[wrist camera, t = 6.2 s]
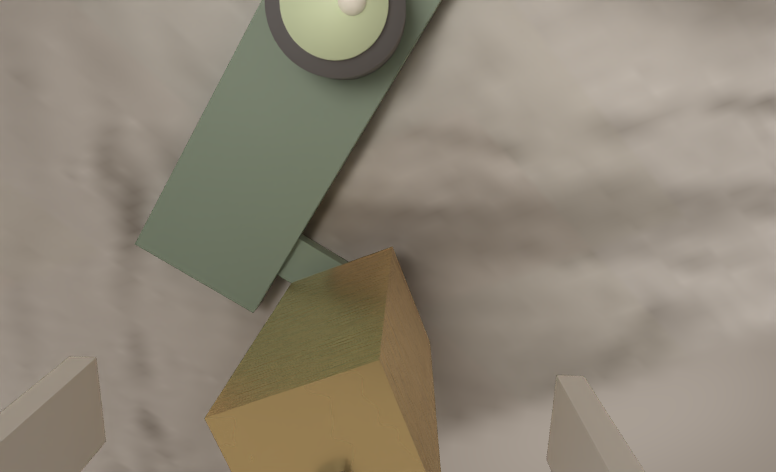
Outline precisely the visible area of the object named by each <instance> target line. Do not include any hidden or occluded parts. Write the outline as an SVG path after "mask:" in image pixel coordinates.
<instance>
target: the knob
mask: <svg viewBox="0 0 776 472" xmlns="http://www.w3.org/2000/svg"><path fill="white" fill-rule="evenodd" d="M205 420H206V422H207V424H208V426H209V428H210V430H211V432H212V434H213V436H214V438H215V440H216V442H217V444H218V446H219V448H220V450H221V452H222V454H223V456H224V458H225V460H226V462H227V464H228V466H229V468H230V470H231V472H441V468H440V456H439V444H438V432H437V420H436V408H435V397H434V385H433V373H432V361H431V349H430V341H429V339H428V336H427V334H426V331H425V328H424V326H423V323H422V321H421V318H420V316H419V313H418V311H417V308H416V305H415V303H414V300H413V298H412V295H411V293H410V290H409V288H408V285H407V282H406V280H405V277H404V275H403V272H402V270H401V267H400V265H399V262H398V259H397V257H396V254H395V252H394V249H393V247H390V248H387V249H384V250H381V251H379V252H376V253H373V254H370V255H368V256H365V257H362V258H359V259H356V260H354V261H351V262H348V263H345V264H342V265H340V266H337V267H334V268H331V269H329V270H326V271H323V272H320V273H317V274H315V275H312V276H309V277H306V278H303V279H301V280H298V281H295V282H292V283H291V285H290V286H289V288H288V289H287V291H286V293H285V294H284V296H283V297H282V299H281V300H280V302H279V303H278V305H277V307H276V308H275V310H274V311H273V313H272V314H271V316H270V317H269V319H268V320H267V322H266V324H265V325H264V327H263V328H262V330H261V331H260V333H259V334H258V336H257V338H256V339H255V341H254V342H253V344H252V345H251V347H250V348H249V350H248V352H247V353H246V355H245V356H244V358H243V359H242V361H241V362H240V364H239V366H238V367H237V369H236V370H235V372H234V373H233V375H232V376H231V378H230V380H229V381H228V383H227V384H226V386H225V387H224V389H223V390H222V392H221V394H220V395H219V397H218V398H217V400H216V401H215V403H214V404H213V406H212V407H211V409H210V411H209V412H208V414H207V415H206V417H205Z"/></svg>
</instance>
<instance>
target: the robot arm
mask: <svg viewBox="0 0 776 472" xmlns="http://www.w3.org/2000/svg"><path fill="white" fill-rule="evenodd" d="M105 442H106V438H105V430H104V421H103V412H102V403H101V395H100V386H99V377H98V368H97V360H96V357H71V356H70V357H68V358H67V359H66V360H65V361H63V362H62V363H61V364H60V365H59V366H57V367H56V368H55V369H54V370H52V371H51V372H50V373H49V374H47V375H46V376H45V377H44V378H42V379H41V380H40V381H39V382H38V383H36V384H35V385H34V386H33V387H31V388H30V389H29V390H28V391H26V392H25V393H24V394H23V395H21V396H20V397H19V398H18V399H17V400H15V401H14V402H13V403H12V404H10V405H9V406H8V407H7V408H5V409H4V410H3V411H2V412H0V472H81V471H82V469H83V468H84V467H85V466H86V465H87V463H88V462H89V461H90V460H91V459H92V457H93V456H94V455H95V454H96V453H97V451H98V450H99V449H100V448H101V447H102V445H103V444H104V443H105ZM547 462H548V464H549V467H550V469H551V472H645V471H644V470H643V468H642V467H641V465H640V463H639V462H638V460H637V459H636V457H635V455H634V454H633V453H632V451H631V449H630V448H629V446H628V445H627V443H626V441H625V440H624V438H623V437H622V435H621V434H620V432H619V430H618V429H617V427H616V426H615V424H614V423H613V421H612V420H611V418H610V416H609V415H608V413H607V412H606V410H605V409H604V407H603V405H602V404H601V402H600V401H599V399H598V398H597V396H596V394H595V393H594V391H593V390H592V388H591V387H590V385H589V383H588V382H587V380H586V379H585V377H584V376H566V375H557V377H556V385H555V393H554V401H553V410H552V418H551V426H550V435H549V443H548V451H547Z"/></svg>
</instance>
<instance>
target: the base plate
mask: <svg viewBox="0 0 776 472" xmlns="http://www.w3.org/2000/svg"><path fill="white" fill-rule="evenodd" d="M441 1H442V0H262V1H261V3H260V5H259V7H258V9H257V11H256V13H255V14H254V16H253V18H252V20H251V22H250V24H249V26H248V28H247V30H246V32H245V34H244V36H243V37H242V39H241V41H240V43H239V45H238V47H237V49H236V51H235V53H234V55H233V57H232V59H231V61H230V62H229V64H228V66H227V68H226V70H225V72H224V74H223V76H222V78H221V80H220V82H219V84H218V86H217V87H216V89H215V91H214V93H213V95H212V97H211V99H210V101H209V103H208V105H207V107H206V109H205V111H204V112H203V114H202V116H201V118H200V120H199V122H198V124H197V126H196V128H195V130H194V132H193V134H192V135H191V137H190V139H189V141H188V143H187V145H186V147H185V149H184V151H183V153H182V155H181V157H180V159H179V160H178V162H177V164H176V166H175V168H174V170H173V172H172V174H171V176H170V178H169V180H168V182H167V184H166V185H165V187H164V189H163V191H162V193H161V195H160V197H159V199H158V201H157V203H156V205H155V207H154V209H153V210H152V212H151V214H150V216H149V218H148V220H147V222H146V224H145V226H144V228H143V230H142V232H141V233H140V235H139V237H138V239H137V241H136V243H135V245H137V246H139V247H141V248H142V249H144V250H146V251H147V252H149V253H151V254H153V255H154V256H156V257H158V258H160V259H161V260H163V261H165V262H166V263H168V264H170V265H172V266H173V267H175V268H177V269H178V270H180V271H182V272H184V273H185V274H187V275H189V276H191V277H192V278H194V279H196V280H197V281H199V282H201V283H203V284H204V285H206V286H208V287H209V288H211V289H213V290H215V291H216V292H218V293H220V294H222V295H223V296H225V297H227V298H228V299H230V300H232V301H234V302H235V303H237V304H239V305H240V306H242V307H244V308H246V309H247V310H249V311H251V312H253V313H254V311H255V310H256V309H257V307H258V306H259V305H260V303H261V302H262V300H263V298H264V297H265V295H266V293H267V292H268V290H269V288H270V287H271V285H272V283H273V282H274V280H275V278H276V277H277V275H278V276H280V277H282V278H283V279H285V280H287V281H288V282H290V283H292V282H295V281H298V280H301V279H303V278H306V277H309V276H312V275H315V274H317V273H320V272H323V271H326V270H329V269H331V268H334V267H337V266H340V265H342V264H345V263H348V261H346V260H344V259H343V258H341V257H339V256H338V255H336V254H334V253H333V252H331V251H329V250H328V249H326V248H324V247H323V246H321V245H319V244H318V243H316V242H314V241H313V240H311V239H309V238H308V237H306V236H304V235H303V234H302V233H303V231H304V230H305V228H306V226H307V225H308V223H309V221H310V220H311V218H312V216H313V215H314V213H315V211H316V210H317V208H318V206H319V205H320V203H321V201H322V200H323V198H324V196H325V195H326V193H327V191H328V190H329V188H330V186H331V185H332V183H333V181H334V180H335V178H336V176H337V175H338V173H339V171H340V170H341V168H342V166H343V165H344V163H345V161H346V160H347V158H348V156H349V155H350V153H351V151H352V150H353V148H354V146H355V145H356V143H357V141H358V140H359V138H360V136H361V135H362V133H363V131H364V130H365V128H366V126H367V125H368V123H369V121H370V120H371V118H372V116H373V115H374V113H375V111H376V110H377V108H378V106H379V105H380V103H381V101H382V100H383V98H384V96H385V95H386V93H387V91H388V90H389V88H390V86H391V85H392V83H393V81H394V80H395V78H396V76H397V75H398V73H399V71H400V70H401V68H402V66H403V65H404V63H405V61H406V60H407V58H408V56H409V55H410V53H411V51H412V50H413V48H414V46H415V45H416V43H417V41H418V40H419V38H420V36H421V35H422V33H423V31H424V30H425V28H426V26H427V25H428V23H429V21H430V20H431V18H432V16H433V15H434V13H435V11H436V10H437V8H438V6H439V5H440V3H441Z"/></svg>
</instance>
